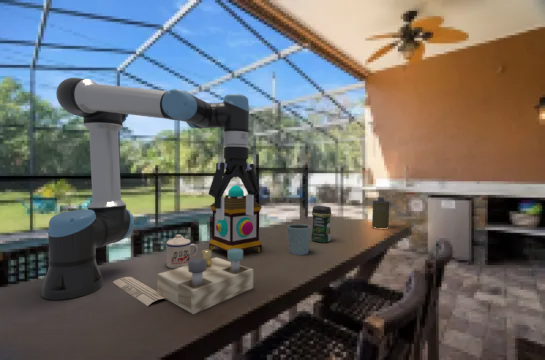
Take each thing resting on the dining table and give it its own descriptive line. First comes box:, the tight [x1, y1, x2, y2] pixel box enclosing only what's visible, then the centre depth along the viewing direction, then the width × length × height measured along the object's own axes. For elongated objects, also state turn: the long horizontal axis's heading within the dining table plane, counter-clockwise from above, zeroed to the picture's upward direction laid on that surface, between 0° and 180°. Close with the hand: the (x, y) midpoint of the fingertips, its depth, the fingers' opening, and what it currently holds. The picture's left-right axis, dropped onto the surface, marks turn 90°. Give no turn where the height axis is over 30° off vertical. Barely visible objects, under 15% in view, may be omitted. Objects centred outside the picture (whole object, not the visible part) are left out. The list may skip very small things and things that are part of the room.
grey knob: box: [188, 258, 206, 286], centre depth 79 cm, size 5×5×6 cm
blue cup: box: [286, 223, 311, 256], centre depth 131 cm, size 10×10×12 cm
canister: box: [371, 196, 391, 228], centre depth 188 cm, size 11×10×20 cm
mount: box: [156, 256, 254, 315], centre depth 88 cm, size 22×18×6 cm
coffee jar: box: [311, 205, 332, 244], centre depth 152 cm, size 10×8×19 cm
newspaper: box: [112, 276, 168, 308], centre depth 87 cm, size 24×7×2 cm, turn 49°
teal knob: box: [226, 249, 244, 273], centre depth 90 cm, size 5×5×6 cm
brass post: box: [201, 248, 213, 268], centre depth 93 cm, size 3×3×5 cm
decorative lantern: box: [208, 184, 263, 253], centre depth 130 cm, size 20×20×30 cm
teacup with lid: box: [165, 234, 198, 269], centre depth 112 cm, size 12×9×12 cm
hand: (235, 217), depth 90 cm, fingers open, 12 cm apart
